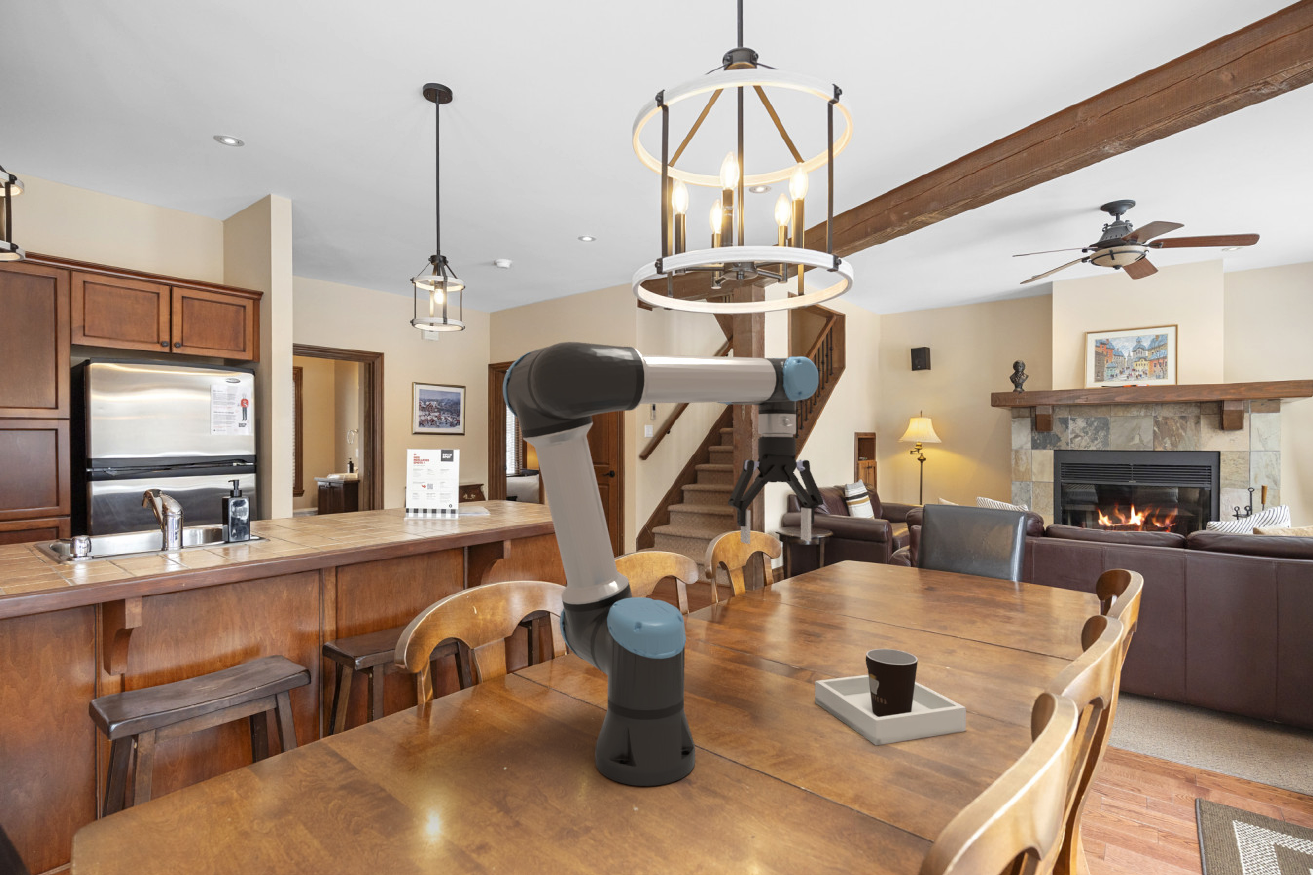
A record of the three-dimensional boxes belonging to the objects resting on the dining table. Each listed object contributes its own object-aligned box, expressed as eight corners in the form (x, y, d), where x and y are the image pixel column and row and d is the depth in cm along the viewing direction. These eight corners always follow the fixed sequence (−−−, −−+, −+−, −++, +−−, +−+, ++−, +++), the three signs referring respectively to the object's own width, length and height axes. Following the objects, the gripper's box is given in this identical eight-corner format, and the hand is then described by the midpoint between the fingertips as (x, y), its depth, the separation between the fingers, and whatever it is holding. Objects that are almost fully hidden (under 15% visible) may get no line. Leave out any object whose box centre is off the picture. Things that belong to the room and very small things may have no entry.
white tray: (876, 745, 104) (876, 720, 104) (815, 702, 121) (815, 680, 121) (965, 730, 109) (965, 707, 109) (895, 691, 126) (895, 671, 127)
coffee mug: (922, 725, 109) (922, 666, 109) (868, 721, 111) (868, 662, 111) (909, 699, 120) (910, 645, 120) (861, 695, 122) (861, 642, 122)
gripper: (728, 434, 122) (727, 546, 122) (841, 436, 130) (840, 541, 130) (712, 435, 130) (711, 541, 129) (820, 436, 137) (819, 536, 137)
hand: (776, 541), depth 130 cm, fingers open, 13 cm apart
